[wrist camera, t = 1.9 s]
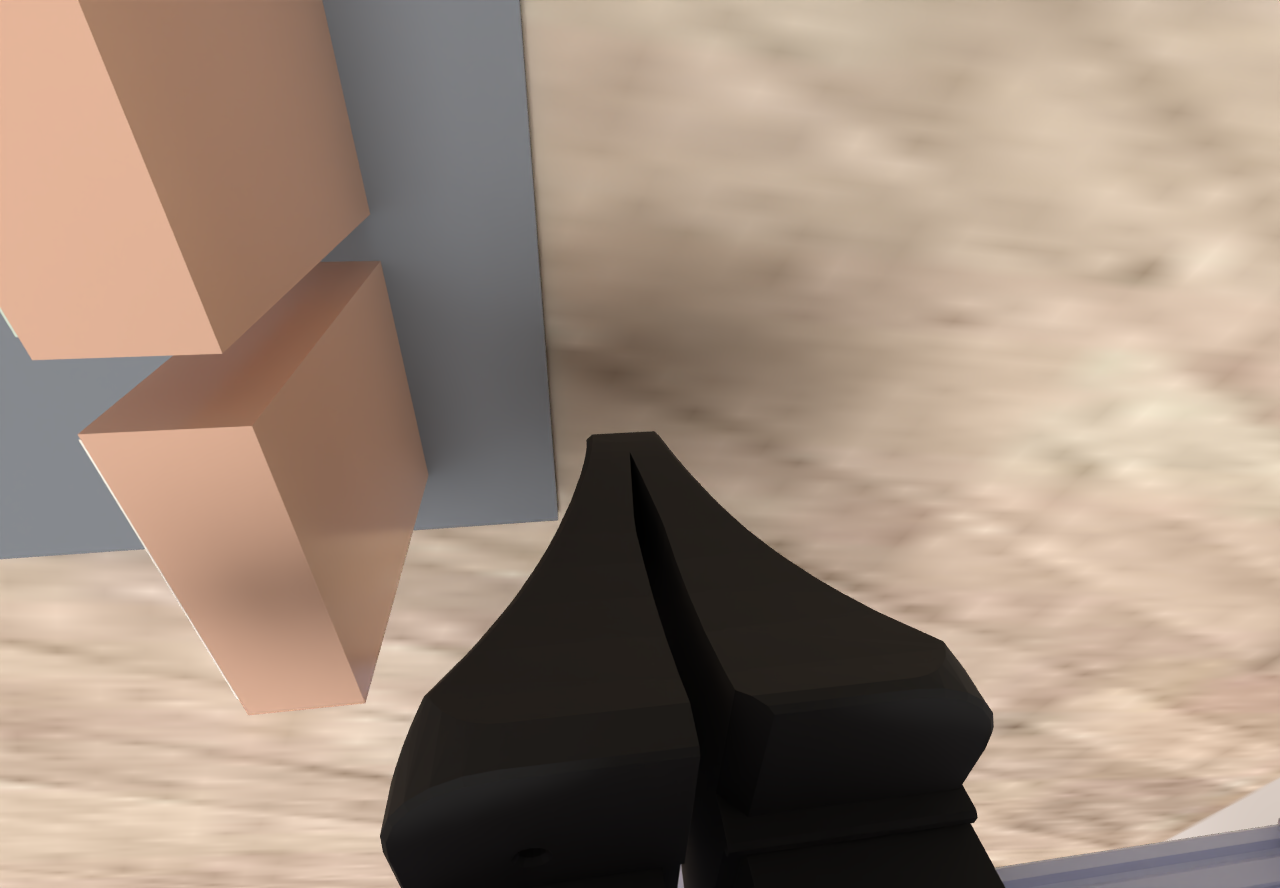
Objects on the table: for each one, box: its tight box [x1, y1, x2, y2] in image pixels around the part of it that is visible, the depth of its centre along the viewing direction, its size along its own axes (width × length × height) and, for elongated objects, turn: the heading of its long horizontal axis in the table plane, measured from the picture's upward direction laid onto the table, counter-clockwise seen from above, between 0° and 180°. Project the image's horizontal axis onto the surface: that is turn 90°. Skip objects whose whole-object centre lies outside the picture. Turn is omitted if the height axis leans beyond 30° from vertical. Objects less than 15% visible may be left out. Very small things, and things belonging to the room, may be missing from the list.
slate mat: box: [0, 0, 558, 559], centre depth 12 cm, size 17×18×1 cm
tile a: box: [78, 261, 428, 715], centre depth 12 cm, size 2×6×7 cm, turn 179°
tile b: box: [0, 0, 370, 360], centre depth 8 cm, size 2×6×7 cm, turn 179°
